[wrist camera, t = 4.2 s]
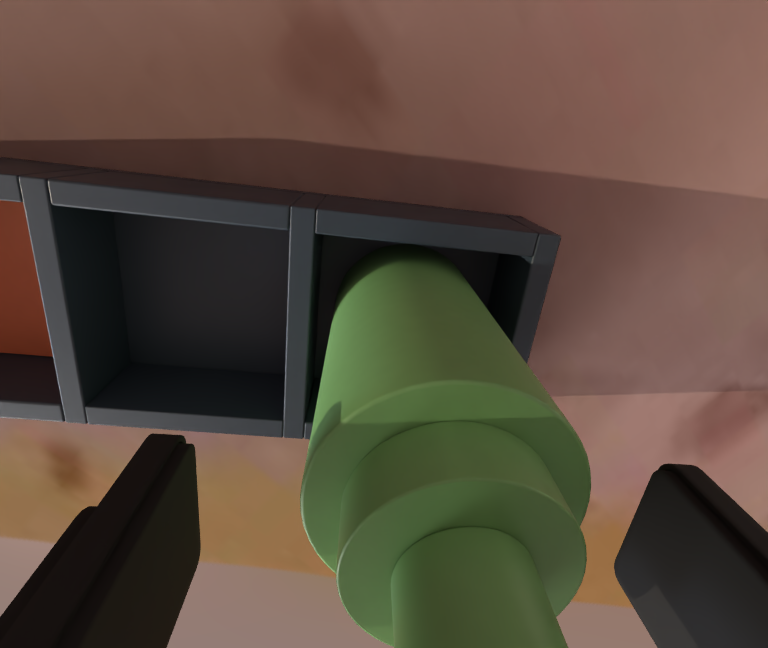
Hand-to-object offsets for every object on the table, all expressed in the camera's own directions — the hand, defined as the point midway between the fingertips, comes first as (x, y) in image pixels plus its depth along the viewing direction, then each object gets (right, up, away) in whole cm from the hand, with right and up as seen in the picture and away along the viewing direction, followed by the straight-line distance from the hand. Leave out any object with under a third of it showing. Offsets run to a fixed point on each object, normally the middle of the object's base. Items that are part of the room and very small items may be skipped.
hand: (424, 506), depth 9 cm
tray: (-8, +5, +10) cm, 14 cm away
